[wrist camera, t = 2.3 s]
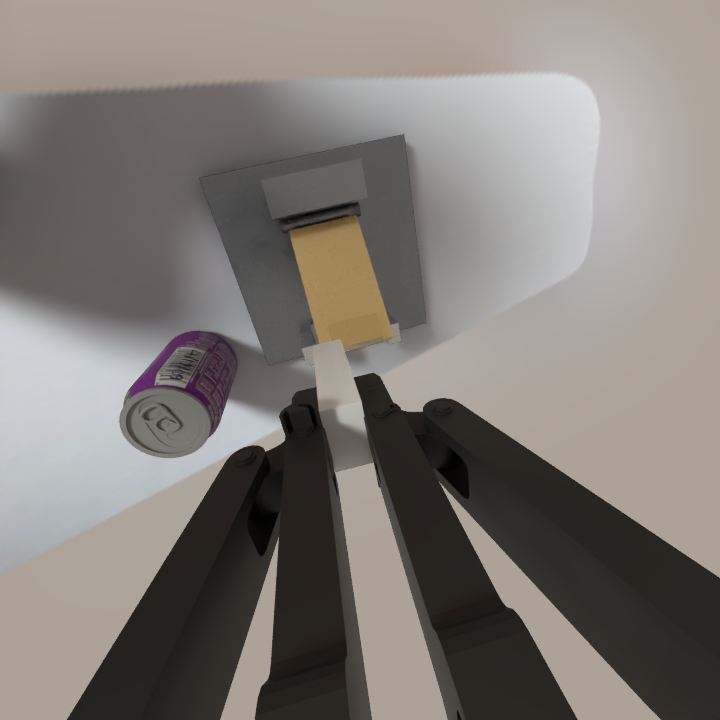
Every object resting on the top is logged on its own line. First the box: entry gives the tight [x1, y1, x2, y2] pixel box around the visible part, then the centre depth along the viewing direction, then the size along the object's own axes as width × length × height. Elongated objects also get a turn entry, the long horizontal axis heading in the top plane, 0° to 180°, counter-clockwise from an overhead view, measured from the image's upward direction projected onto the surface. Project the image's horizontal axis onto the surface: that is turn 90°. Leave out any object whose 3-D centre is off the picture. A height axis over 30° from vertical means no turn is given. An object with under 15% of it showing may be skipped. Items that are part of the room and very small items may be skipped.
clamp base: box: [199, 134, 427, 367], centre depth 31 cm, size 18×18×6 cm
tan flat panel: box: [280, 202, 394, 352], centre depth 28 cm, size 7×13×2 cm
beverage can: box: [119, 331, 237, 458], centre depth 30 cm, size 7×7×12 cm
